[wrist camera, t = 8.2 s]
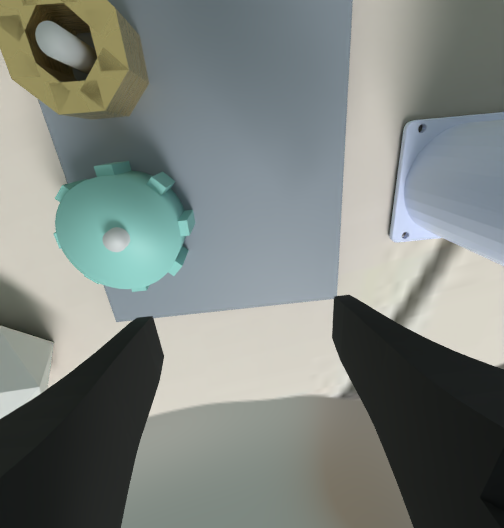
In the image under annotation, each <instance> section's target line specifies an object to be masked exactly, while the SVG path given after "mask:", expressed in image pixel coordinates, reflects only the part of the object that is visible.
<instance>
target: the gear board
mask: <svg viewBox="0 0 504 528" xmlns="http://www.w3.org/2000/svg"><path fill="white" fill-rule="evenodd" d="M108 1H109V2H110V3H111V4H112V5H113V6H114V7H115V8H116V9H117V10H118V11H119V13H120V14H121V15H122V16H123V17H124V18H125V19H126V20H127V22H128V23H129V24H130V25H131V26H132V27H133V28H134V30H135V31H136V32H137V33H138V34H139V35H140V39H141V44H142V49H143V54H144V59H145V64H146V69H147V74H148V80H149V85H148V86H147V88H146V90H145V91H144V93H143V95H142V96H141V98H140V100H139V101H138V103H137V104H136V106H135V108H134V109H133V111H132V113H131V114H130V116H128V117H116V118H104V119H85V118H78V117H71V116H65V115H59V114H57V113H56V112H55V111H53V110H52V109H51V108H49V107H48V106H47V105H46V104H44V103H43V102H42V101H40V100H39V99H38V101H39V104H40V106H41V109H42V112H43V115H44V118H45V121H46V123H47V126H48V129H49V132H50V135H51V138H52V140H53V143H54V146H55V149H56V152H57V155H58V157H59V160H60V163H61V166H62V169H63V172H64V174H65V177H66V180H67V183H68V184H65V185H62V187H61V189H60V190H59V192H58V194H57V196H56V197H55V199H56V200H58V201H59V202H60V204H59V206H58V210H57V213H56V220H55V225H56V232H55V233H54V236H55V238H56V241H57V243H58V246H59V248H62V250H63V252H64V254H65V255H66V257H67V258H68V259H69V261H70V262H71V263H72V264H73V265H74V266H75V267H76V268H77V269H78V270H79V271H80V272H81V273H83V274H84V276H85V277H87V278H88V279H90V280H92V281H94V282H95V283H97V284H99V283H100V284H103V285H104V288H105V291H106V294H107V296H108V299H109V302H110V305H111V308H112V311H113V313H114V316H115V319H116V322H121V321H130V320H134V319H136V318H138V317H147V316H153V318H159V317H168V316H177V315H187V314H196V313H205V312H215V311H224V310H233V309H243V308H252V307H262V306H271V305H280V304H290V303H299V302H308V301H318V300H327V299H334V297H335V296H337V284H338V265H339V246H340V227H341V208H342V190H343V171H344V152H345V133H346V114H347V95H348V77H349V58H350V39H351V20H352V1H353V0H108ZM35 35H36V41H37V43H38V46H39V47H40V49H41V50H42V51H43V52H44V53H45V54H46V55H47V56H49V57H51V58H53V59H56V60H58V61H60V62H62V63H64V64H67V65H69V66H71V67H72V70H73V73H74V77H75V79H76V80H78V81H85V80H86V78H87V76H88V74H89V73H90V71H91V69H92V67H93V65H94V63H95V61H96V60H97V54H96V50H95V46H94V43H93V39H92V35H91V33H78V34H77V36H74V35H73V34H71V33H70V32H68V31H67V30H65V29H64V28H62V27H60V26H59V25H57V24H56V23H54V22H52V21H43V22H41V23H40V24H39V25H38V26H37V28H36V33H35Z"/></svg>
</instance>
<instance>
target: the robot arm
mask: <svg viewBox="0 0 504 528" xmlns="http://www.w3.org/2000/svg"><path fill="white" fill-rule="evenodd" d="M420 125H422V127H423V128H422V131H421V132H420V133H419V131H418V128H419V126H420ZM404 232H406V235H405V236H404V237H402V234H403V233H404ZM435 238H444V239H446V240H448V241H450V242H453V243H455V244H457V245H459V246H461V247H463V248H465V249H468V250H470V251H472V252H474V253H476V254H478V255H481V256H483V257H485V258H487V259H489V260H491V261H493V262H496V263H498V264H500V265H502V266H504V112H498V113H487V114H476V115H465V116H454V117H443V118H432V119H421V120H412V121H409V122H408V123H407V124H406V125H405V126H404V130H403V137H402V144H401V152H400V160H399V167H398V175H397V182H396V190H395V197H394V205H393V213H392V220H391V228H390V239H391V240H392V241H394V242H406V241H416V240H425V239H435ZM332 338H333V341H334V344H335V347H336V350H337V352H338V355H339V358H340V360H341V362H342V364H343V366H344V368H345V370H346V372H347V374H348V376H349V378H350V380H351V381H352V383H353V385H354V387H355V389H356V391H357V393H358V395H359V397H360V398H361V400H362V402H363V404H364V406H365V408H366V410H367V412H368V414H369V416H370V418H371V420H372V422H373V424H374V426H375V429H376V431H377V434H378V436H379V438H380V441H381V443H382V446H383V448H384V451H385V453H386V456H387V458H388V460H389V463H390V466H391V468H392V471H393V473H394V476H395V479H396V481H397V484H398V486H399V489H400V492H401V494H402V497H403V500H404V503H405V505H406V508H407V510H408V513H409V516H410V519H411V522H412V524H413V527H414V528H504V369H500V368H498V367H495V366H492V365H489V364H487V363H484V362H481V361H479V360H476V359H473V358H470V357H468V356H465V355H463V354H460V353H458V352H455V351H453V350H451V349H449V348H446V347H444V346H442V345H440V344H437V343H435V342H433V341H431V340H429V339H427V338H425V337H422V336H421V335H419V334H417V333H415V332H413V331H411V330H409V329H407V328H405V327H403V326H402V325H400V324H398V323H396V322H394V321H393V320H391V319H389V318H388V317H386V316H384V315H382V314H381V313H379V312H377V311H376V310H374V309H373V308H371V307H369V306H368V305H366V304H364V303H363V302H361V301H359V300H358V299H356V298H354V297H352V296H350V295H344V296H335V297H334V311H333V331H332ZM163 359H164V355H163V351H162V348H161V344H160V340H159V337H158V333H157V330H156V326H155V323H154V319H153V316H147V317H138V318H136V319H134V320H133V321H132V322H131V323H129V324H128V325H127V326H126V327H125V328H123V329H122V330H121V331H120V332H119V333H118V334H117V335H115V336H114V337H113V338H112V339H111V340H110V341H108V342H107V343H106V344H105V345H104V346H103V347H101V348H100V349H99V350H98V351H97V352H96V353H94V354H93V355H92V356H91V357H89V358H88V359H87V360H85V361H84V362H83V363H82V364H80V365H79V366H78V367H77V368H75V369H74V370H73V371H72V372H70V373H69V374H68V375H66V376H65V377H64V378H62V379H61V380H60V381H58V382H57V383H55V384H54V385H52V386H51V387H50V388H48V389H47V390H45V391H44V392H42V393H41V394H39V395H38V396H36V397H35V398H33V399H32V400H30V401H29V402H27V403H25V404H24V405H22V406H20V407H19V408H17V409H16V410H14V411H12V412H11V413H9V414H7V415H6V416H4V417H3V418H1V419H0V528H121V523H122V518H123V514H124V509H125V503H126V499H127V494H128V489H129V484H130V480H131V475H132V471H133V466H134V462H135V458H136V453H137V450H138V446H139V443H140V439H141V436H142V433H143V430H144V427H145V424H146V421H147V418H148V415H149V412H150V409H151V406H152V403H153V400H154V396H155V393H156V390H157V387H158V384H159V380H160V375H161V370H162V365H163Z"/></svg>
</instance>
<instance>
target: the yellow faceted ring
mask: <svg viewBox="0 0 504 528" xmlns="http://www.w3.org/2000/svg"><path fill="white" fill-rule="evenodd" d="M43 21H52V22H54V23H56V24H57V25H59V26H60V27H62V28H64V29H65V30H67V31H68V32H70V33H71V34H73V35H74V36H77V34H78V33H91V35H92V39H93V43H94V46H95V50H96V54H97V60H96V61H95V63H94V65H93V67H92V69H91V71H90V73H89V74H88V76H87V78H86V80H85V81H78V80H76V79H75V77H74V73H73V70H72V67H71V66H69V65H67V64H64V63H62V62H60V61H58V60H56V59H53V58H51V57H49V56H47V55H46V54H45V53H44V52H43V51H42V50H41V49H40V47H39V46H38V43H37V41H36V35H35V33H36V28H37V26H38V25H39V24H40V23H41V22H43ZM0 49H1V52H2V54H3V57H4V60H5V62H6V65H7V68H8V70H9V73H10V76H11V78H12V80H14V81H15V82H16V83H18V84H19V85H20V86H22V87H23V88H24V89H26V90H27V91H28V92H30V93H31V94H32V95H34V96H35V97H36V98H38V99H39V100H40V101H42V102H43V103H44V104H46V105H47V106H48V107H49V108H51V109H52V110H53V111H55V112H56V113H57V114H59V115H65V116H71V117H78V118H85V119H104V118H116V117H128V116H130V114H131V113H132V111H133V109H134V108H135V106H136V104H137V103H138V101H139V100H140V98H141V96H142V95H143V93H144V91H145V90H146V88H147V86H148V85H149V80H148V74H147V69H146V64H145V59H144V54H143V49H142V44H141V39H140V35H139V34H138V33H137V32H136V31H135V30H134V28H133V27H132V26H131V25H130V24H129V23H128V22H127V20H126V19H125V18H124V17H123V16H122V15H121V14H120V13H119V11H118V10H117V9H116V8H115V7H114V6H113V5H112V4H111V3H110V2H109V1H108V0H0Z"/></svg>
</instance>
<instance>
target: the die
mask: <svg viewBox="0 0 504 528" xmlns="http://www.w3.org/2000/svg"><path fill="white" fill-rule="evenodd" d="M53 346H54V342H51V341H48V340H45V339H42V338H39V337H35V336H32V335H29V334H26V333H23V332H19V331H16V330H13V329H10V328H7V327H4V326H0V419H1V418H3V417H4V416H6V415H7V414H9V413H11V412H12V411H14V410H16V409H17V408H19V407H20V406H22V405H24V404H25V403H27V402H29V401H30V400H32V399H33V398H35V397H36V396H38V395H39V394H41V393H42V392H44V391H45V390H47V388H48V381H49V374H50V367H51V360H52V353H53Z"/></svg>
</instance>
